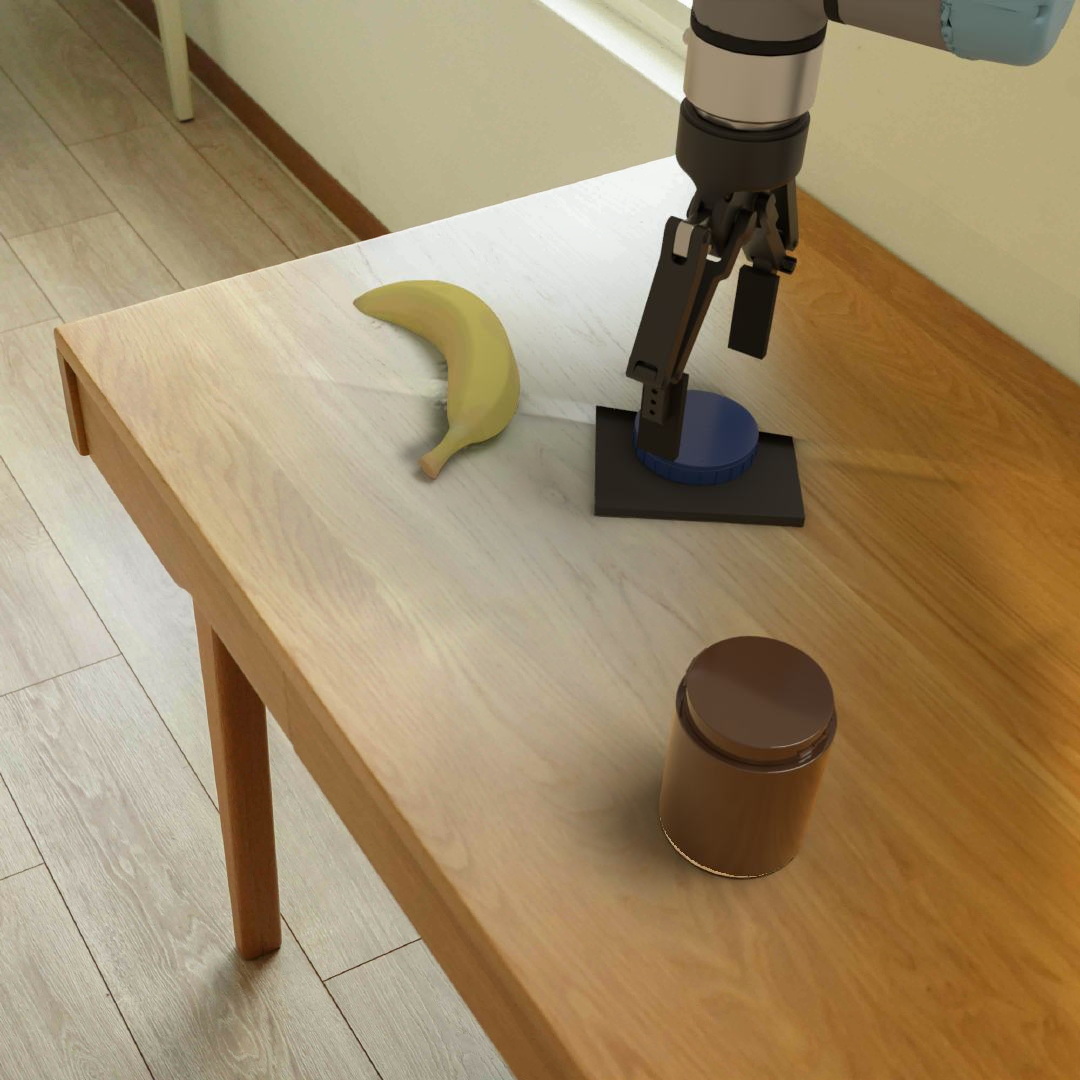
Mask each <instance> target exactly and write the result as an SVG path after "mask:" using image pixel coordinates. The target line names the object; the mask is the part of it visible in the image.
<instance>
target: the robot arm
mask: <svg viewBox="0 0 1080 1080" xmlns="http://www.w3.org/2000/svg"><path fill="white" fill-rule="evenodd" d="M1075 3H1076V0H692V6H691V8H690V18H689V27H687V28H685V30H684V32H683V34H682V42H683V43H684V45H686V47H687V49H686V57H685V64H684V65H685V66H684V74H683V75H684V76H683V85H682V90H683V91H682V92H683V93H684V95H685V97H684V98H682V100H681V103H680V105H679V115H678V123H677V133H676V141H675V151H674V152H675V154H674V155H675V160H676V162H677V163H678V166H679V167H680V169H681V170H682V171H683V172H684V173H685V174H686V175H687V176H688V177H689V178H690V180H691V181H692V183H693V184H694V186H695V189H696V190H695V192H694V194H693V195H692V197H691V200H690V202H689V205H688V207H687V210H686V214H685V215H686V216H685V217H686V219H684V218H680V217H678V216H675V215H670V216H669V217H668V218H667V220H666V222H665V225H664V229H663V236H662V241H661V249H660V254H659V259H658V260H657V261H658V262H657V265H656V269H655V272H654V275H653V279H652V282H651V285H650V288H649V291H648V295H647V299H646V302H645V306H644V308H643V312H642V316H641V319H640V323H639V326H638V328H637V332H636V336H635V339H634V343H633V345H632V349H631V353H630V356H629V358H628V362H627V365H626V368H625V377H626V378H628V379H631V380H634V381H635V382H639V383H641V384H642V389H641V400H640V407H639V410H640V418H639V428H638V438H637V447H636V448H638V449H641V450H643V451H646V452H648V453H651V454H653V455H656V456H658V457H661V458H663V459H666V460H668V461H671V462H674V461H675V460H676V459H677V458H678V456H679V450H680V442H681V434H682V427H683V419H684V411H685V404H686V396H687V390H688V388H689V379H690V374H689V373H686V372H684V371H685V369H686V366H687V364H688V361H689V358H690V356H691V354H692V351H693V349H694V346H695V343H696V341H697V339H698V335H699V333H700V332H701V329H702V327H703V324H704V321H705V319H706V316H707V314H708V311H709V308H710V306H711V303H712V300H713V298H714V296H715V293H716V291H717V288H718V286H719V284H720V282H722V281H725V280H727V279H729V278H730V276H731V274H732V272H733V270H734V267H735V264H736V262H737V259H738V257H739V253H740V251H741V250H742V252H743V254H744V256H745V258H746V261H747V262H748V263H749V262H750V263H752V266H751V265H748V264H746V263H744V264H743V265H741V266H740V268H739V269H738V276H737V283H736V290H735V295H734V302H733V308H732V316H731V321H730V322H731V323H730V329H729V335H728V342H727V349H730V350H732V351H735V352H737V353H741V354H743V355H746V356H749V357H752V358H755V359H758V360H760V361H763V359H764V358H765V357H766V356H767V354H768V348H769V343H770V336H771V332H772V331H771V330H772V326H773V319H774V315H775V307H776V302H777V297H778V292H779V286H780V279H781V275H778V272H780V273H783V274H785V275H788V276H791V275H793V273H794V271H795V269H796V267H797V264H798V258H797V257H794V256H791V255H788V254H787V252H786V251H789V252H794V251H795V250H796V248H797V247H798V246H799V239H800V235H799V233H800V232H799V215H798V200H797V199H798V197H797V180H796V177H797V176H798V175H799V173H800V172H801V170H802V168H803V165H804V164H803V163H804V159H805V158H804V157H805V153H806V147H807V141H808V136H809V130H810V123H811V114H810V111H809V110H811V108H812V107H813V106H814V104H815V101H816V96H817V92H818V91H817V90H818V84H819V80H820V79H819V78H820V72H821V66H822V60H823V55H824V47H825V42H826V34H827V29H828V23H829V21H831V22H833V23H838V24H842V25H844V26H847V25H848V26H852V27H855V28H859V29H863V30H865V31H869V32H874V33H878V34H881V35H885V36H888V37H892V38H896V39H900V40H903V41H907V42H911V43H914V44H918V45H921V46H922V45H923V46H926V47H929V48H933V49H937V50H940V51H944V52H948V53H951V54H952V55H955V56H956V57H957V58H959V59H961V60H962V59H963V60H968V61H972V62H973V61H984V62H991V63H996V64H1003V65H1007V66H1014V67H1029V66H1033V65H1035V64H1038V63H1039V62H1041V61H1042V60H1044V58H1046V57H1047V56H1048V55H1049V54H1050V52H1051V51H1052V50H1053V48H1054V47H1055V46H1056V44H1057V41H1058V39H1059V37H1060V35H1061V32H1062V30H1063V29H1064V28H1065V26H1066V24H1067V22H1068V20H1069V18H1070V15H1071V13H1072V11H1073V8H1074V5H1075ZM708 256H710V257H713V258H714V257H715V258H718V259H720V260H718V261H716V260H715V261H714V260H712V259H708Z"/></svg>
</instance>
